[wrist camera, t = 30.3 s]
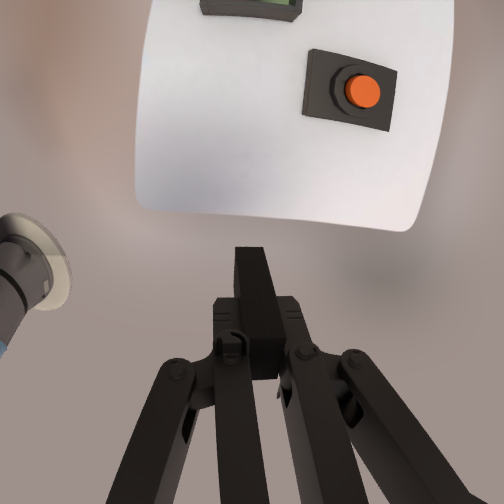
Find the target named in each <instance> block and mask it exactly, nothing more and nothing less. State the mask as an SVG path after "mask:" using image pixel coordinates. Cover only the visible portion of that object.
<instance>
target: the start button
mask: <svg viewBox="0 0 504 504" xmlns="http://www.w3.org/2000/svg"><path fill="white" fill-rule="evenodd" d="M345 93H346V96H347V98H348V100H349V101H350V102H351V103H352V104H354V105H356V106H360V107H372V106H374V105H375V104H376V103H377V102H378V100H379V98H380V88H379V86H378V84H377V82H376V81H375V80H374V79H373V78H371V77H369V76H354V77H352V78H350V79H349V80H348V81H347V83H346V86H345Z"/></svg>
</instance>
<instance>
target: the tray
mask: <svg viewBox="0 0 504 504" xmlns="http://www.w3.org/2000/svg"><path fill="white" fill-rule="evenodd" d="M302 2H303V0H200V7H201V10H202V14H203V15H227V16H245V17H257V18H266V19H275V20H282V21H289V22H293V21H294V20H295V19H296V18H297V17H298V16H299V15H300V14H301V13H302Z"/></svg>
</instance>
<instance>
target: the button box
mask: <svg viewBox="0 0 504 504" xmlns="http://www.w3.org/2000/svg"><path fill="white" fill-rule="evenodd" d="M354 76H369V77H371V78H373V79H374V80H375V81H376V82H377V84H378V86H379V88H380V98H379V100H378V102H377V103H376V104H375V105H374V106H372V107H360V106H356V105H354V104H352V103H351V102H350V101H349V100H348V98H347V96H346V93H345V86H346V83H347V81H348V80H349V79H350V78H352V77H354ZM396 79H397V71H395V70H392V69H389V68H386V67H383V66H380V65H377V64H374V63H370V62H367V61H363V60H360V59H356V58H352V57H349V56H345V55H341V54H336V53H332V52H328V51H323V50H318V49H312V50H310V51H309V54H308V64H307V74H306V83H305V92H304V101H303V110H302V115H305V116H309V117H316V118H323V119H329V120H335V121H340V122H345V123H351V124H356V125H361V126H365V127H370V128H374V129H379V130H383V131H387V132H389V129H390V123H391V116H392V110H393V103H394V96H395V88H396Z"/></svg>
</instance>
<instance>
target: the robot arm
mask: <svg viewBox="0 0 504 504" xmlns="http://www.w3.org/2000/svg"><path fill="white" fill-rule="evenodd" d="M53 282H54V278H53V272H52V269H51V266H50V263H49V261H48V259H47V258H46V256H45V255H44V253H43V252H42V251H41V249H40V248H39V247H38V246H37V245H36V244H35V243H34V242H32V241H31V240H30V239H28V238H26V237H24V236H22V235H18V234H11V235H8V236H6V237H5V238H4V239H3V240H2V241H1V242H0V358H1V356H2V355H3V353H4V352H5V351H6V350H7V346H8V344H9V342H10V340H11V339H12V337H13V335H14V333H15V331H16V330H17V328H18V326H19V325H20V323H21V321H22V319H23V318H24V316H25V314H26V313H27V311H28V310H30V309H31V308H33V307H34V306H36V305H37V304H38V303H40V302H41V301H43V300H44V299H45V298H46V297H47V296H48V295H49V293H50V291H51V290H52V287H53ZM278 373H279V376H280V385H279V388H278V392H277V399H278V398H279V397H280V396H281V402H282V407H283V412H284V417H285V422H286V427H287V433H288V437H289V443H290V448H291V453H292V458H293V463H294V468H295V474H296V479H297V483H298V489H299V494H300V499H301V504H369V503H368V499H367V496H366V493H365V489H364V485H363V482H362V478H361V475H360V472H359V468H358V465H357V461H356V458H355V455H354V452H353V448H352V445H351V443H352V444H353V446H354V447H355V449H356V451H357V452H358V454H359V456H360V457H361V459H362V460H363V462H364V464H365V465H366V467H367V468H368V470H369V471H370V473H371V475H372V476H373V478H374V479H375V481H376V483H377V484H378V486H379V487H380V489H381V490H382V492H383V494H384V495H385V497H386V498H387V500H388V502H389V503H390V504H487V503H486V502H484V501H482V500H481V499H479V498H477V497H475V496H474V495H472V494H471V493H469V491H468V490H467V488H466V487H465V486H464V484H463V483H462V481H461V480H460V478H459V477H458V476H457V474H456V473H455V471H454V470H453V468H452V467H451V466H450V464H449V463H448V462H447V460H446V459H445V457H444V456H443V454H442V453H441V452H440V450H439V449H438V447H437V446H436V445H435V443H434V442H433V441H432V440H431V438H430V437H429V435H428V434H427V432H426V431H425V430H424V428H423V427H422V426H421V424H420V423H419V422H418V420H417V419H416V418H415V416H414V415H413V414H412V412H411V411H410V410H409V409H408V407H407V406H406V404H405V403H404V402H403V400H402V399H401V398H400V396H399V395H398V394H397V392H396V391H395V390H394V388H393V387H392V386H391V385H390V383H389V382H388V381H387V379H386V378H385V377H384V376H383V374H382V373H381V372H380V370H379V369H378V368H377V366H376V365H375V364H374V363H373V361H372V360H371V359H370V357H369V356H368V355H367V354H366V353H365V352H363V351H360V350H357V349H349V350H346V351H345V352H343V354H342V355H341V356H339V355H333V354H328V353H324V352H322V351H320V349H319V348H318V346H316V345H315V344H314V343H312V341H311V337H310V335H309V332H308V329H307V326H306V323H305V320H304V317H303V314H302V312H301V308H300V305H299V303H298V302H297V301H296V300H295V299H294V297H292V296H276V294H275V290H274V286H273V282H272V279H271V275H270V272H269V267H268V264H267V260H266V256H265V253H264V249H263V247H235V266H234V298H217V299H216V301H215V303H214V304H213V350H212V352H211V353H210V355H209V356H207V357H206V358H204V359H202V360H200V361H196V362H192V363H190V362H189V361H188V360H185V359H182V358H174V359H169V360H168V361H166V362H165V363H163V365H162V366H161V368H160V370H159V372H158V374H157V377H156V379H155V381H154V383H153V386H152V388H151V390H150V393H149V395H148V397H147V400H146V402H145V405H144V407H143V409H142V412H141V414H140V417H139V419H138V421H137V424H136V426H135V429H134V431H133V434H132V436H131V439H130V441H129V444H128V446H127V449H126V451H125V454H124V456H123V459H122V461H121V464H120V467H119V469H118V472H117V474H116V477H115V479H114V482H113V485H112V487H111V490H110V493H109V495H108V498H107V501H106V504H173V501H174V497H175V494H176V490H177V487H178V483H179V480H180V476H181V473H182V469H183V465H184V462H185V459H186V455H187V452H188V448H189V445H190V441H191V438H192V434H193V431H194V427H195V424H196V421H197V417H198V414H199V410H200V409H203V408H207V407H210V406H213V405H215V421H216V442H217V459H218V474H219V488H220V500H221V504H270V503H269V496H268V491H267V483H266V477H265V470H264V463H263V457H262V450H261V443H260V436H259V429H258V422H257V415H256V407H255V400H254V394H253V386H252V380H267V379H277V377H278ZM350 441H351V442H350Z"/></svg>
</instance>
